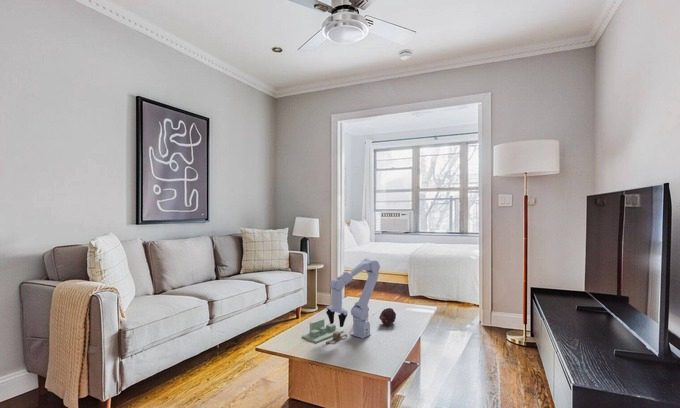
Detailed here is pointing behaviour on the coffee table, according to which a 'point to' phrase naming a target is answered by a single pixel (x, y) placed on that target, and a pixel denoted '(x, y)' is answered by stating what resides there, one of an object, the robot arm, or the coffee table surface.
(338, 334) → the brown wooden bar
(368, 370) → the coffee table surface
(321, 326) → the mint green baseplate
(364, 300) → the robot arm
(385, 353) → the coffee table surface
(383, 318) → the pine cone
